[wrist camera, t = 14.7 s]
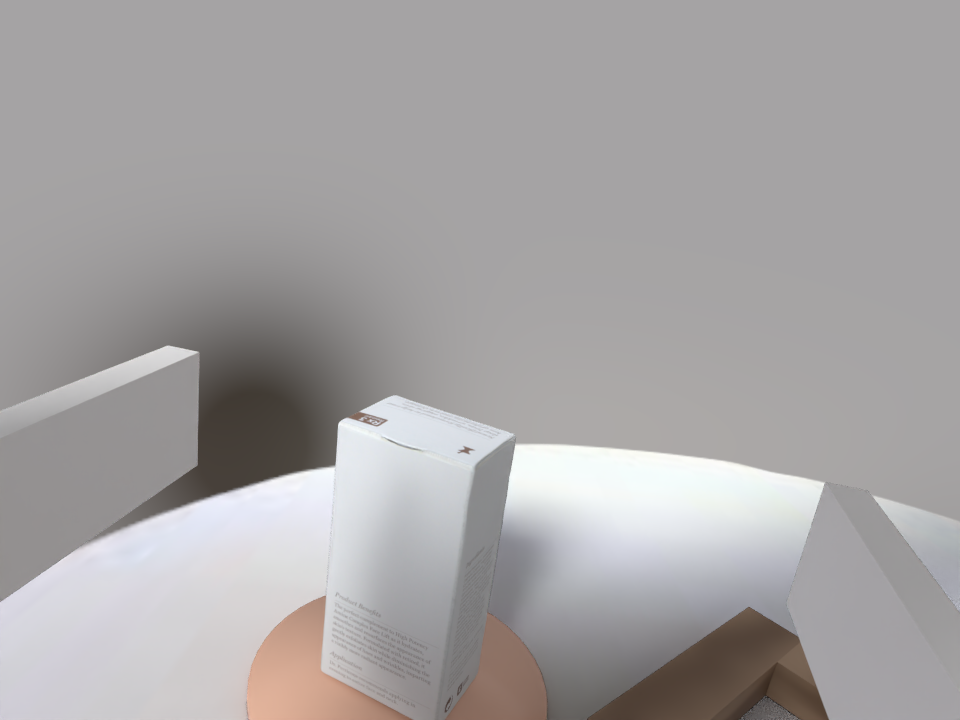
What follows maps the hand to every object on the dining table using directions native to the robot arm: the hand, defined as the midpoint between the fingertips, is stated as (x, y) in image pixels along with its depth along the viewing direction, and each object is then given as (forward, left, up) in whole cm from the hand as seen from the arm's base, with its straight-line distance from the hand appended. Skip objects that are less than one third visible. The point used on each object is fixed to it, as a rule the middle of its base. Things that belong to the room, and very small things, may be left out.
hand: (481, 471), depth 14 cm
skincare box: (+10, -7, -16) cm, 20 cm away
